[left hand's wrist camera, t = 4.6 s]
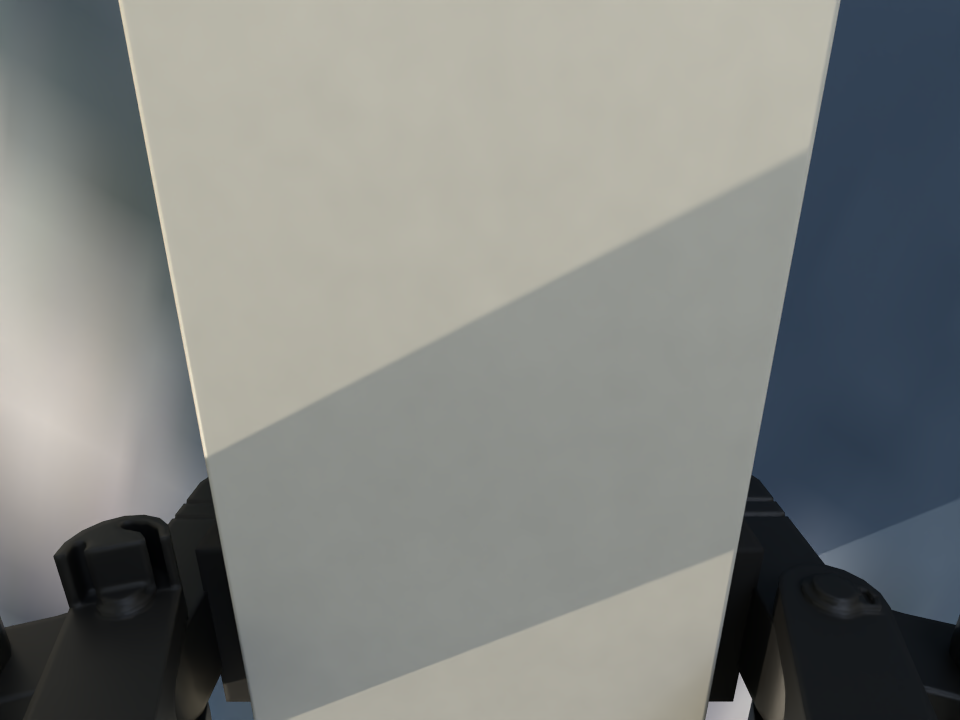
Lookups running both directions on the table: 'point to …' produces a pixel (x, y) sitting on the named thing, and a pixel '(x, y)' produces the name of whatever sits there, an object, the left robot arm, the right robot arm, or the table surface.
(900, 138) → the table surface
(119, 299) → the table surface
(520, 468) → the beam
